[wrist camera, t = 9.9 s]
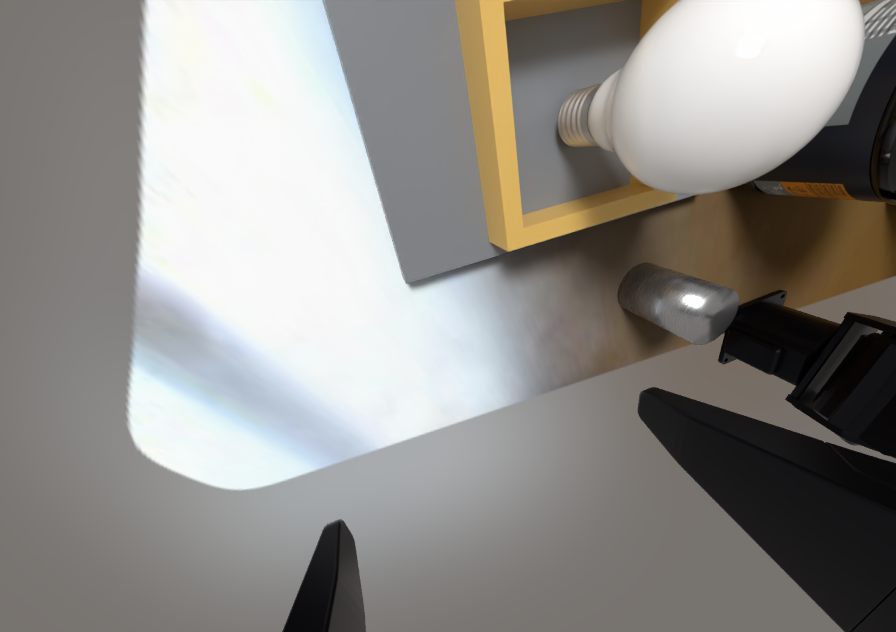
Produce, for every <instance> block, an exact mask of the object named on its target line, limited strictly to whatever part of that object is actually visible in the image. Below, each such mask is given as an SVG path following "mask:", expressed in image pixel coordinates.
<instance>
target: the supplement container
mask: <svg viewBox="0 0 896 632" xmlns="http://www.w3.org/2000/svg"><path fill="white" fill-rule="evenodd" d="M861 7H862V10H863V15H864V21H865V42H864V49H863V54H862V59H861V62H860V66H859V69H858V72H857V74H856V77H855V79H854V82H853V84H852V86H851V88H850V90H849V92H848V94H847V95H846V97H845V99H844V101H843V102H842V104H841V105H840V107H839V108H838V110H837V111H836V112H835V114H834V115H833V116H832V118H831V119H830V120H829V122H828V123H827V124H826V125H825V126H824V128H823V129H822V130H821V131H820V132H819V133H818V134H817V135H816V136H815V137H814V138H813V139H812V140H811V141H810V142H809V143H808V144H807V145H806V146H805V147H803V148H802V149H801V150H800V151H799V152H797V153H796V154H795V155H794V156H792V157H791V158H790V159H788V160H787V161H785V162H784V163H783V164H781V165H780V166H778V167H776V168H775V169H773V170H771V171H770V172H768V173H766V174H764V175H762V176H761V177H759V178H757V179H754V180H752V181H750V182H747V183H745V184H742V185H741V186H742V187H743V188H745V189H746V190H748V191H750V192H753V193H756V194H761V195H790V196H804V197H818V198H833V199H847V200H861V201H875V202H887V203H889V204H892V205H896V0H877V1H874V2H870V3H867V4H864V5H861Z"/></svg>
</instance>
